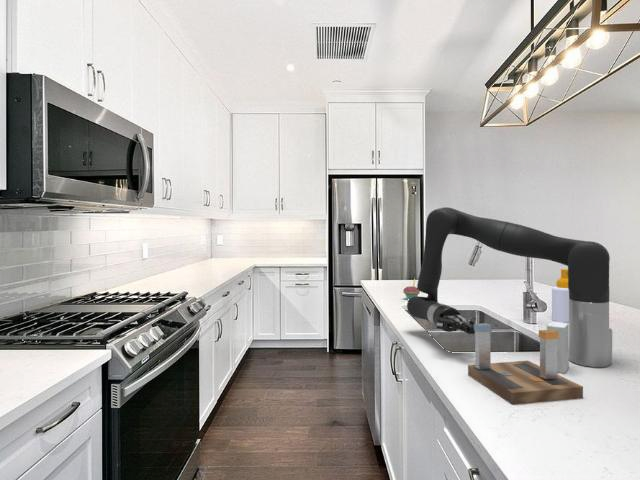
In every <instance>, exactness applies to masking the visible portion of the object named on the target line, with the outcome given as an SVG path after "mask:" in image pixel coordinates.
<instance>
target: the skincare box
mask: <svg viewBox="0 0 640 480" xmlns="http://www.w3.org/2000/svg"><path fill="white" fill-rule="evenodd" d="M546 330H555V331H558V332H559V339H557V374H558V373H559V374H566V373H567V371H568V369H569V367H570V360H569V323H562V322H555V321H553V320H552V321H549V323H548V324H547V325H546Z"/></svg>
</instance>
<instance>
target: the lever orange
mask: <svg viewBox="0 0 640 480" xmlns="http://www.w3.org/2000/svg"><path fill="white" fill-rule="evenodd" d="M538 338H539V366H540V377H542V378H544V379H557V374H558V372H557V339H559V332H558V331H555V330H547V329H539V330H538Z"/></svg>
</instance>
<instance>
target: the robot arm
mask: <svg viewBox="0 0 640 480" xmlns="http://www.w3.org/2000/svg"><path fill="white" fill-rule="evenodd" d="M449 235H456V236H460V237H461V236H462V237H467V238H470V239H473V240H475V241H477V242H479V243H481V244H482V245H484V246H487V247H488V248H490V249H493V250H495V251H499V252H502V253H506V254H510V255H514V256H519V257H524V258H531V259H538V260H539V259H540V260H547V261H552V262H554V263H559V264H561V265H563V266H567V269H568V289H569V323H568V325H569V362H571V363H574V364H576V365H580V366H584V367H589V368H590V367H592V368H607V367H609V365H613V330H612V328H610V260H611V259H610V257H611V256H610V253H609V251H608V249H607V248H606V247H605V246H604V245H602V244H600V243H599V242H596V241H588V240H587V241H586V240H582V239H581V240H579V239H573V238H566V237H561V236H560V237H559V236H557V235H554V234H550V233H547V232H545V231H541V230H539V229H535V228H532V227H528V226H526V225H521V224H518V223H513V222H509V221H504V220H500V219H493V218H488V217H480V216H476V215H473V214H469V213H466V212H464V211H462V210H458V209H455V208H452V207H445V206H444V207H440V208H436V209H433V210H432V211H430V212H429V213H428V215H427V218H426V221H425V236H424V237H425V238H424V239H425V240H424V246H423V247H424V248H423V256H422V262H421V265H420V266H421V267H420V270H419V271H420V272H419V275H418V278H417V279H418V281H417V285H416V287H417V288H418V290H419V291H420V292H421V293H423V294H427V296H419V295H418V296H414V297H411V298H410V299H409V300H407V303H406V308H407V311H408V313H409V314H410V316H412V317H414V318H418V319H422V320H425V321H427V322H429V323H431V324H432V325H433V326H435V327H436V329H439V330H442V331H444V332H448V333H451V332H458V331H459V332H462V333H463V332H464V333H466V334H468V335H475V331H474V324H477V317H470V319H468V318H467V317H466V316H462V315H461V313H460V311H459V310H458V309H456V308H454V307H452V306H450V305H447V304H444V303H441V302H439V301H438V297H439V296H438V291H439V290H438V288H439V285H440V280H441V276H442V272H443V271H442V269H443V262H442V260H443V249H444V246H445V242H446V240H447V238H448V236H449Z"/></svg>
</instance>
